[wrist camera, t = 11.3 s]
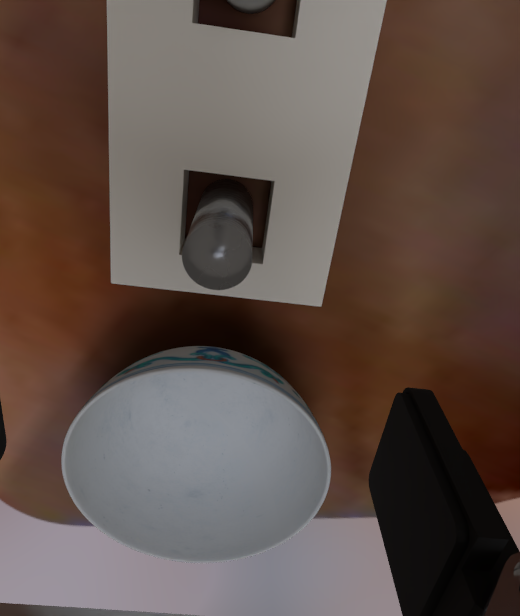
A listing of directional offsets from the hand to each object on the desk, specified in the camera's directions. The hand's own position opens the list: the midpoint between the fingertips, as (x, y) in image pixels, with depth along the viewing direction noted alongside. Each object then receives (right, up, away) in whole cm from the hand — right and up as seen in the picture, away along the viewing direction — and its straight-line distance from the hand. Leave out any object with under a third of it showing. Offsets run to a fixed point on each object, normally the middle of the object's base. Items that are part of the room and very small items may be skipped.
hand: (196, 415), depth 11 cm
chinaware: (-2, -3, +23) cm, 23 cm away
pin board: (0, +13, +14) cm, 19 cm away
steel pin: (0, +8, +16) cm, 18 cm away
